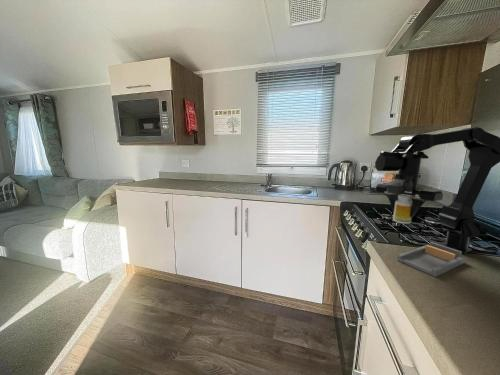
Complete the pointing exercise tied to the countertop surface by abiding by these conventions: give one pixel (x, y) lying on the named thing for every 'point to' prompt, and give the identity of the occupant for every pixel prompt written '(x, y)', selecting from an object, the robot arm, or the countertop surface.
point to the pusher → (439, 253)
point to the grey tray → (431, 260)
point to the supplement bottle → (403, 209)
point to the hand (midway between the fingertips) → (402, 214)
